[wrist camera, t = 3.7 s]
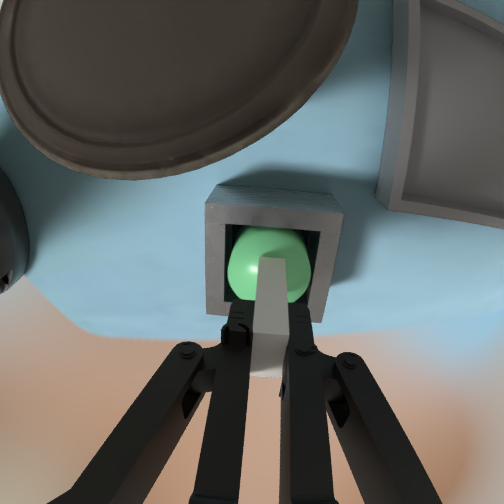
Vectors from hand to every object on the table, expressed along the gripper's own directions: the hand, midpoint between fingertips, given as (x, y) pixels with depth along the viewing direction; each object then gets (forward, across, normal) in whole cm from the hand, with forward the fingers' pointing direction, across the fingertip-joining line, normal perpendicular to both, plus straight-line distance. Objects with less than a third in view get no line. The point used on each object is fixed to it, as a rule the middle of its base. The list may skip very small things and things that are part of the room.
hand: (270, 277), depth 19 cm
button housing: (+5, 0, 0) cm, 5 cm away
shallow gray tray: (+5, +15, +12) cm, 20 cm away
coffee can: (+5, -4, +13) cm, 15 cm away
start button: (+4, 0, 0) cm, 4 cm away
